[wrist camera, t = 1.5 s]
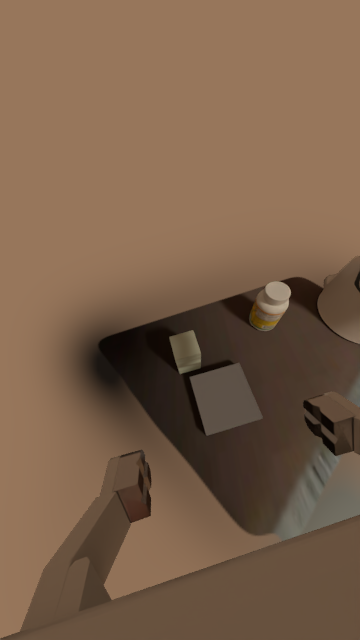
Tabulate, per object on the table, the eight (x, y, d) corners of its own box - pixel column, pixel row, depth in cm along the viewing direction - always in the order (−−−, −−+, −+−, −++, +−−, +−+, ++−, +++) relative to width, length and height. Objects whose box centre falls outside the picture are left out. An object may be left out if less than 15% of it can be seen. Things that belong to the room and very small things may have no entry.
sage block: (194, 348, 39) (193, 330, 32) (200, 368, 37) (200, 353, 30) (174, 354, 38) (169, 337, 32) (179, 374, 36) (175, 360, 29)
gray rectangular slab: (237, 366, 36) (239, 362, 34) (259, 419, 32) (263, 418, 30) (190, 379, 36) (189, 377, 34) (205, 435, 31) (206, 435, 29)
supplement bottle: (266, 336, 38) (285, 310, 30) (243, 321, 41) (254, 292, 32) (280, 318, 40) (301, 288, 32) (257, 304, 42) (271, 273, 34)
